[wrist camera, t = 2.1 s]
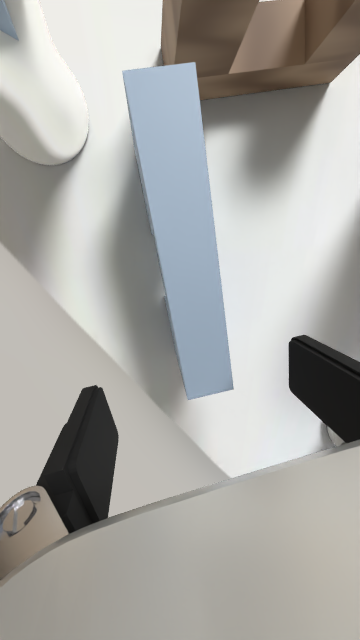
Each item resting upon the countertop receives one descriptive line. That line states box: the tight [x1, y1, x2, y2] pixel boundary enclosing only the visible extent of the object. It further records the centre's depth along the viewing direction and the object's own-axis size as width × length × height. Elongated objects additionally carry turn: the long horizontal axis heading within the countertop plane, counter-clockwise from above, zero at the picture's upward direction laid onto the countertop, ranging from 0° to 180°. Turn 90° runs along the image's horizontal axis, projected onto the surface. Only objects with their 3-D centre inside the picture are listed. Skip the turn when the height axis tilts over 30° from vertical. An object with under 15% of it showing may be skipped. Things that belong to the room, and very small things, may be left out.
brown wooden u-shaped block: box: [161, 0, 360, 100], centre depth 11 cm, size 12×3×7 cm, turn 100°
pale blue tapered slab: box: [122, 62, 233, 400], centre depth 14 cm, size 16×3×7 cm, turn 10°
